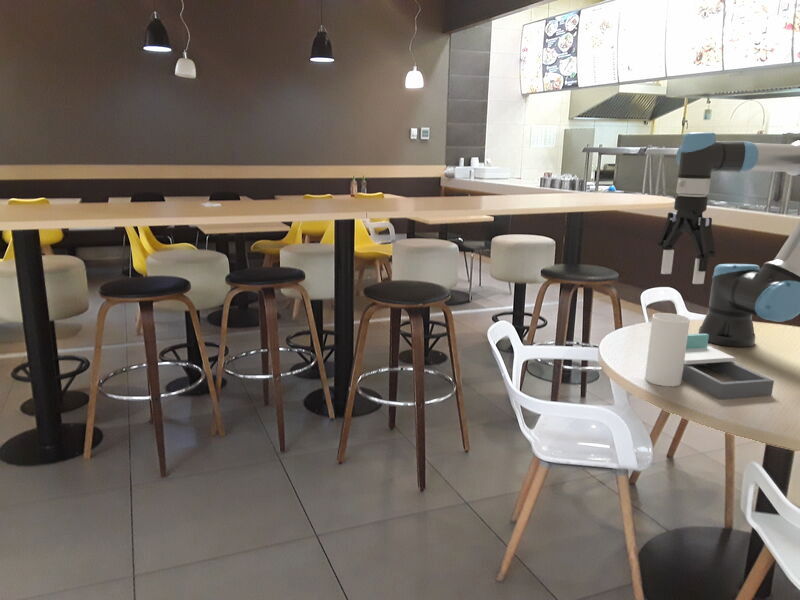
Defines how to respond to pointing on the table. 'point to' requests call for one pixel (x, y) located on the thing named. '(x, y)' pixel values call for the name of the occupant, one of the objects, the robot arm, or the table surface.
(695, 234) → the robot arm
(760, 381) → the grey shallow rectangular tray
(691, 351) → the cover
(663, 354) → the cup
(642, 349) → the table surface
